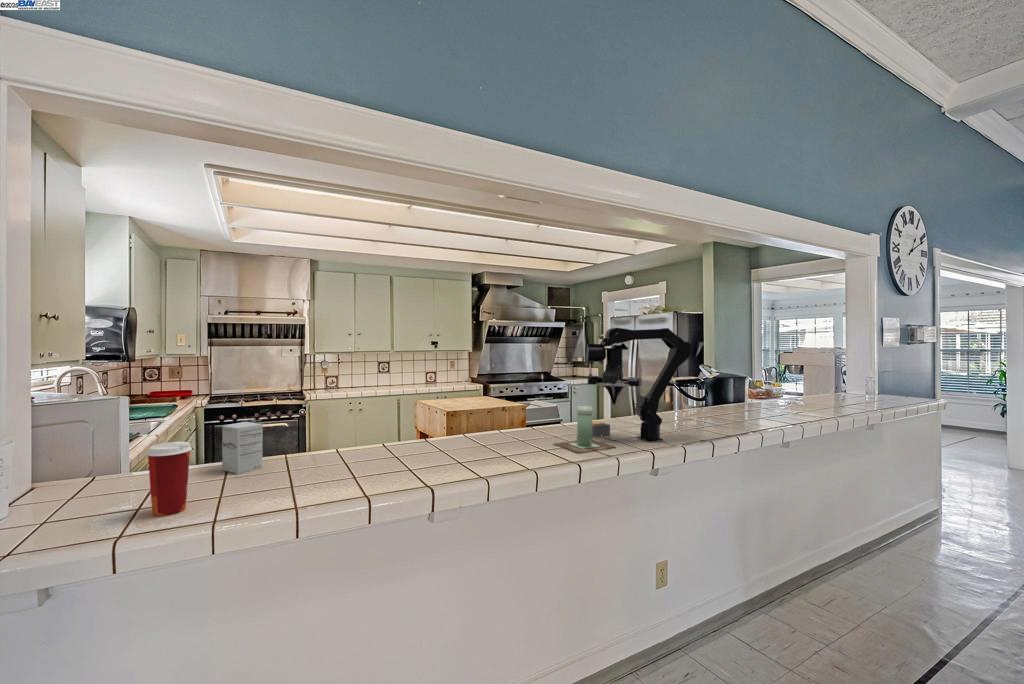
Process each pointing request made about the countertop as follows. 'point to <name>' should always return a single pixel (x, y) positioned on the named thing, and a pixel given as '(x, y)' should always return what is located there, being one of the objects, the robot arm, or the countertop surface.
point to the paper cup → (168, 477)
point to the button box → (601, 430)
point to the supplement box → (242, 447)
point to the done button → (597, 423)
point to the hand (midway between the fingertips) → (614, 404)
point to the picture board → (581, 449)
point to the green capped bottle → (584, 425)
